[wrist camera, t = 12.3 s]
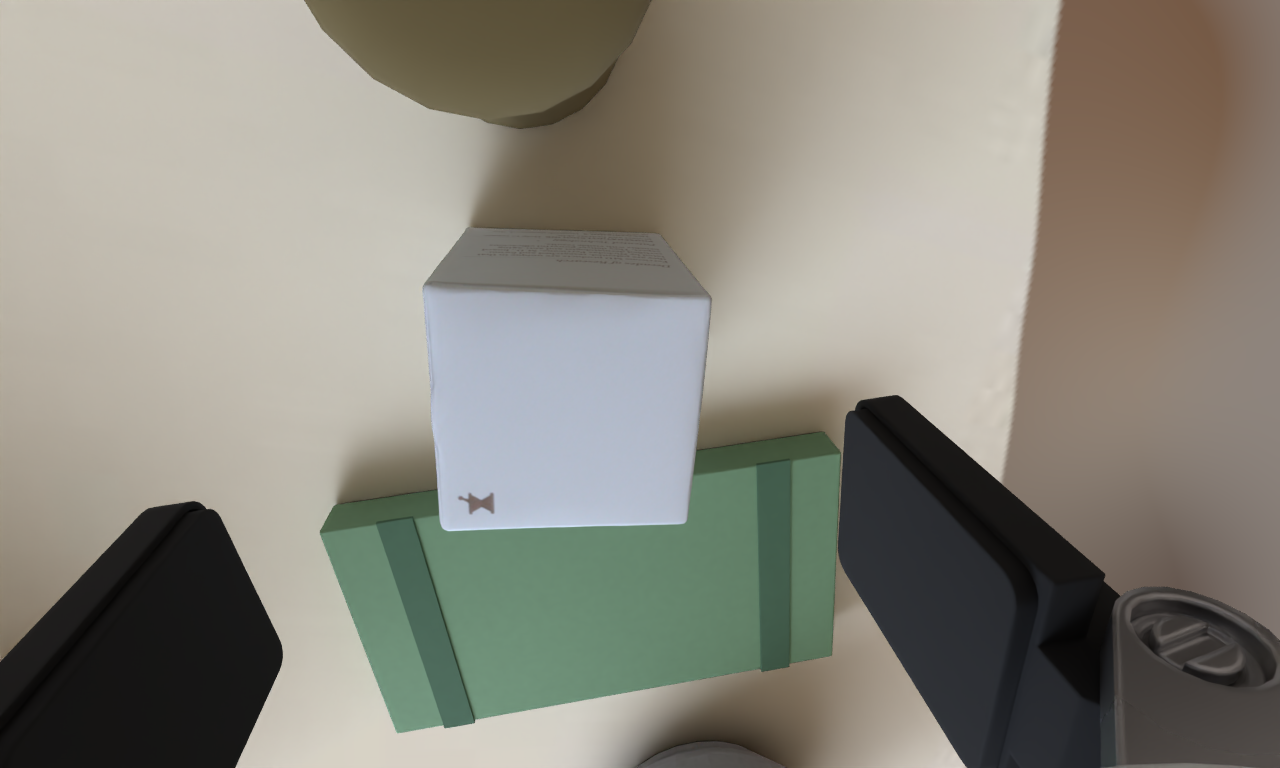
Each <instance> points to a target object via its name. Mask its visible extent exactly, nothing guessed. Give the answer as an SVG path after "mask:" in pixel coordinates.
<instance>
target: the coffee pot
mask: <svg viewBox="0 0 1280 768" xmlns="http://www.w3.org/2000/svg"><path fill="white" fill-rule="evenodd" d="M637 768H786V767H785V766H783V765H781V764H778V763H776V762H774V761H772V760H770V759H768V758H766V757H763V756H761V755H759V754H756V753H754V752H753V751H751V750H748V749H746V748H744V747H741V746H739V745H737V744H731V743H725V742H719V741H711V742H695V743H690V744H685V745H680V746H676V747H674V748H671V749H669V750H666V751H664V752H661V753H659V754H656V755H655V756H653V757H652V758H650V759H649V760H647V761H645V762H644V763H642V764H641V765H639V766H638V767H637Z"/></svg>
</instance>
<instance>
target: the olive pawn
mask: <svg viewBox="0 0 1280 768" xmlns="http://www.w3.org/2000/svg"><path fill="white" fill-rule="evenodd" d="M304 1H305V2H306V4H307V5H308V7H309V9H310V10H311V12H312V14H313V15H314V17H315V18H316V20H317V22H318V23H319V25H320V27H321V28H322V30H323V31H324V32H325V33H326V34H327V35H328V36H329V37H330V38H331V39H333V40H334V41H335V42H336V43H337V44H338V45H339V46H340V47H341V48H342V49H343V50H344V51H345V52H346V53H347V54H348V55H349V56H350V57H351V58H352V59H353V60H354V61H355V62H356V63H357V64H358V65H359V66H361V67H362V68H363V69H364V70H365V71H366V72H367V73H368V74H369V75H370V76H371V77H372V78H373V79H375V80H377V81H378V82H380V83H382V84H384V85H386V86H388V87H390V88H391V89H393V90H395V91H397V92H399V93H401V94H403V95H405V96H406V97H408V98H410V99H412V100H414V101H416V102H418V103H419V104H421V105H423V106H425V107H427V108H429V109H433V110H438V111H443V112H448V113H453V114H459V115H464V116H469V117H474V118H479V119H481V120H483V121H485V122H487V123H492V124H497V125H502V126H508V127H513V128H518V129H523V128H530V127H537V126H544V125H551V124H554V123H556V122H558V121H560V120H562V119H564V118H566V117H568V116H569V115H571V114H573V113H575V112H577V111H579V110H581V109H582V108H583V107H584V106H585V105H586V104H587V103H588V102H589V101H590V100H591V99H592V98H593V97H594V96H595V95H596V93H597V92H598V91H599V90H600V89H601V88H602V87H603V86H604V85H605V84H606V82H607V80H608V77H609V75H610V73H611V71H612V69H613V67H614V65H615V63H616V60H617V58H618V57H619V56H620V55H621V54H622V52H623V51H624V50H625V49H626V48H627V47H628V46H629V45H630V44H631V43H632V40H633V38H634V36H635V34H636V32H637V30H638V28H639V26H640V24H641V21H642V19H643V17H644V15H645V13H646V11H647V9H648V7H649V5H650V2H651V0H304Z"/></svg>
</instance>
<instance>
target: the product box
mask: <svg viewBox="0 0 1280 768" xmlns="http://www.w3.org/2000/svg"><path fill="white" fill-rule="evenodd" d="M423 298H424V311H425V324H426V336H427V349H428V361H429V374H430V388H431V422H432V430H433V435H434V443H435V458H436V473H437V487H438V502H439V518H440V524H441V526H442V528H443V529H444V530H447V531H463V530H487V529H516V528H545V527H583V526H630V525H668V524H684V523H685V522H686V521H687V519H688V512H689V504H690V496H691V488H692V480H693V472H694V464H695V456H696V447H697V439H698V430H699V421H700V412H701V404H702V395H703V386H704V377H705V367H706V358H707V348H708V337H709V327H710V315H711V302H712V298H711V296H710V295H709V293H708V292H707V291H706V290H705V289H704V288H703V287H702V286H701V284H700V283H699V282H698V281H697V279H696V278H695V277H694V276H693V274H692V273H691V272H690V271H689V270H688V268H687V267H686V266H685V265H684V263H683V262H682V261H681V260H680V259H679V257H678V256H677V255H676V254H675V252H674V251H673V250H672V249H671V247H670V246H669V245H668V243H667V242H666V241H665V240H664V239H663V237H662V236H661V235H660V234H657V233H633V232H602V231H568V230H529V229H498V228H467V229H466V230H465V232H464V233H463V234H462V236H461V237H460V238H459V240H458V241H457V242H456V243H455V245H454V246H453V247H452V249H451V250H450V251H449V253H448V254H447V255H446V256H445V258H444V259H443V260H442V261H441V263H440V264H439V265H438V266H437V268H436V269H435V270H434V272H433V273H432V274H431V276H430V277H429V278H428V280H427V281H426V282H425V284H424V286H423Z"/></svg>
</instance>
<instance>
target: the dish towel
mask: <svg viewBox="0 0 1280 768" xmlns="http://www.w3.org/2000/svg"><path fill="white" fill-rule="evenodd" d="M840 463H841V452H840V451H839V449H838V448H837V447H836V446H835V445H834V443H833V442H832V441H831V440H830V439H829V437H828V436H827V435H826V434H825V432H818V433H811V434H805V435H798V436H791V437H785V438H778V439H771V440H765V441H758V442H752V443H745V444H738V445H732V446H725V447H718V448H712V449H705V450H698V451H696V456H695V464H694V472H693V480H692V488H691V496H690V504H689V512H688V519H687V521H686V522H685V523H684V524H668V525H630V526H583V527H545V528H516V529H487V530H463V531H447V530H444V529H443V528H442V526H441V524H440V518H439V502H438V490H432V491H426V492H419V493H412V494H406V495H399V496H392V497H386V498H379V499H372V500H366V501H359V502H352V503H346V504H339V505H335V506H334V507H333V508H332V510H331V512H330V514H329V516H328V518H327V519H326V521H325V523H324V525H323V527H322V529H321V530H320V535H321V538H322V540H323V543H324V545H325V548H326V551H327V553H328V556H329V558H330V561H331V564H332V566H333V569H334V571H335V574H336V577H337V579H338V582H339V584H340V587H341V590H342V592H343V595H344V597H345V600H346V602H347V605H348V608H349V610H350V613H351V615H352V618H353V621H354V623H355V626H356V628H357V631H358V634H359V636H360V639H361V641H362V644H363V647H364V649H365V652H366V654H367V657H368V660H369V662H370V665H371V667H372V670H373V673H374V675H375V678H376V680H377V683H378V686H379V688H380V691H381V693H382V696H383V698H384V701H385V704H386V706H387V709H388V711H389V714H390V717H391V719H392V722H393V724H394V727H395V730H396V732H397V733H402V732H408V731H414V730H419V729H425V728H430V727H436V726H442V725H444V728H450V727H456V726H461V725H467V724H472V723H475V719H481V718H486V717H492V716H498V715H503V714H509V713H515V712H520V711H526V710H531V709H537V708H543V707H548V706H554V705H559V704H565V703H571V702H576V701H582V700H587V699H593V698H599V697H604V696H610V695H615V694H621V693H627V692H632V691H638V690H643V689H649V688H655V687H660V686H666V685H672V684H677V683H683V682H688V681H694V680H700V679H705V678H711V677H716V676H722V675H728V674H733V673H739V672H744V671H750V670H756V669H761V672H763V671H769V670H775V669H780V668H786V667H789V663H795V662H801V661H806V660H812V659H817V658H823V657H829V656H832V643H833V620H834V598H835V576H836V553H837V531H838V508H839V486H840Z"/></svg>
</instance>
